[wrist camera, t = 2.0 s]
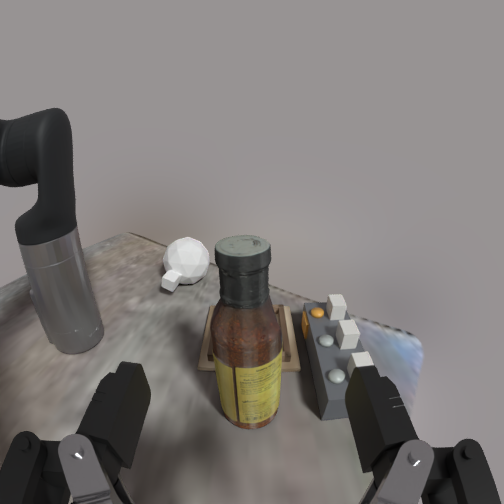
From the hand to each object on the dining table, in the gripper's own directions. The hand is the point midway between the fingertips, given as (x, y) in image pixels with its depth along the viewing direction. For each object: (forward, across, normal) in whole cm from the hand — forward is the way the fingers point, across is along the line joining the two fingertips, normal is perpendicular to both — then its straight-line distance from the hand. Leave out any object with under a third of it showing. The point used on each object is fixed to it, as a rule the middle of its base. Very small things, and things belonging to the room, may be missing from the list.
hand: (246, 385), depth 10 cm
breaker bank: (+19, -11, +19) cm, 29 cm away
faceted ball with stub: (+40, +13, +19) cm, 46 cm away
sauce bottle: (+12, 0, +19) cm, 23 cm away
